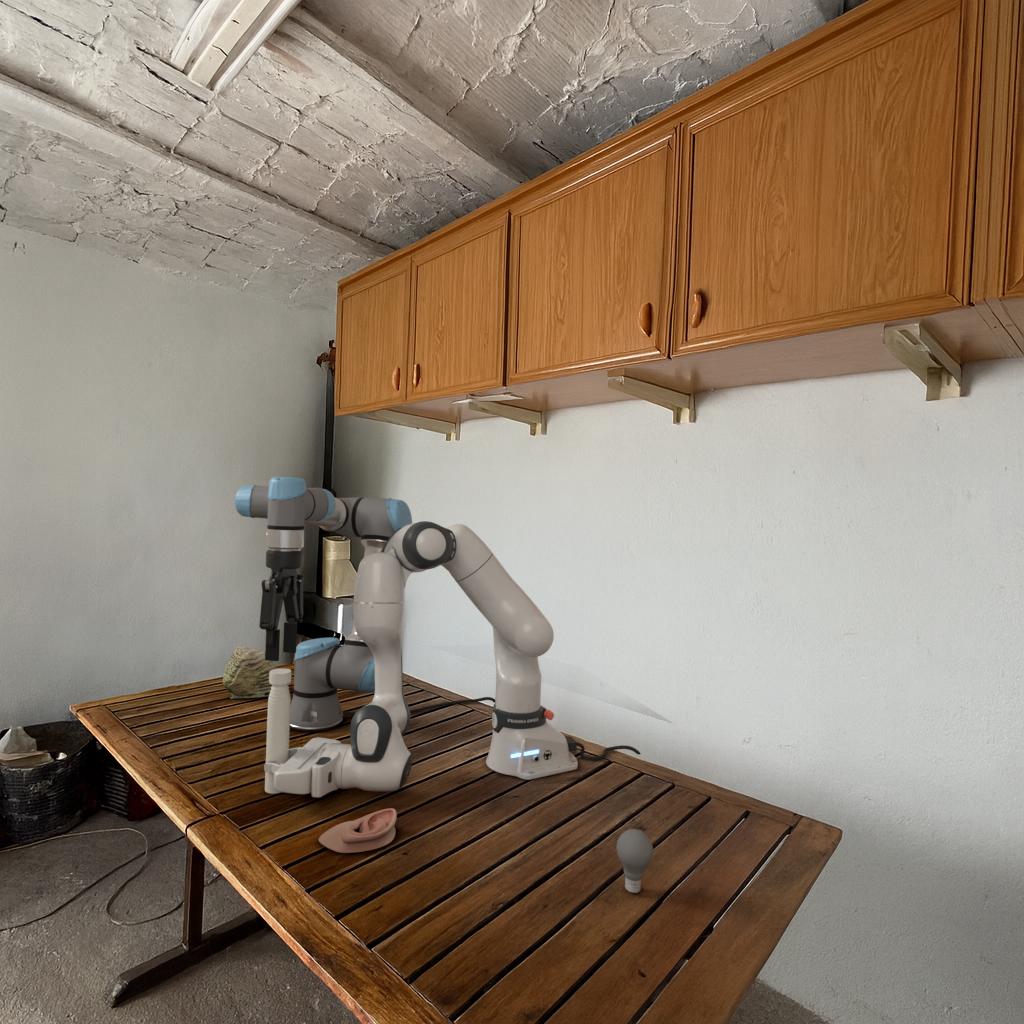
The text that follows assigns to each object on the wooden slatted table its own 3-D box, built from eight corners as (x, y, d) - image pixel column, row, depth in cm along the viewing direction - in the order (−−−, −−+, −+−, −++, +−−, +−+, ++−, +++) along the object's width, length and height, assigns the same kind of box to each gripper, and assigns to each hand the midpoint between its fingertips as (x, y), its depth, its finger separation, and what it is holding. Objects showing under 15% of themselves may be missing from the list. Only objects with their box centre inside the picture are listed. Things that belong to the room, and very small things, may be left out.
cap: (295, 680, 138) (295, 669, 138) (283, 686, 133) (283, 674, 133) (277, 678, 139) (277, 667, 139) (264, 683, 134) (264, 672, 134)
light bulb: (610, 879, 108) (613, 822, 108) (644, 879, 109) (647, 822, 109) (619, 902, 102) (622, 840, 102) (655, 901, 103) (658, 840, 103)
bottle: (291, 785, 138) (295, 671, 138) (279, 795, 134) (283, 676, 133) (273, 782, 139) (277, 669, 139) (260, 791, 135) (264, 674, 134)
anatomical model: (310, 826, 114) (340, 797, 125) (309, 848, 114) (339, 817, 125) (379, 837, 111) (403, 806, 122) (378, 859, 111) (403, 827, 123)
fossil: (218, 695, 195) (220, 647, 195) (278, 685, 208) (279, 640, 207) (228, 703, 189) (230, 653, 188) (289, 692, 201) (290, 645, 201)
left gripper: (291, 545, 146) (287, 644, 146) (242, 551, 126) (238, 666, 127) (322, 547, 145) (318, 647, 145) (277, 553, 125) (273, 669, 126)
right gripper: (352, 733, 145) (294, 728, 147) (316, 770, 125) (250, 764, 126) (351, 760, 146) (293, 755, 147) (315, 801, 125) (248, 795, 127)
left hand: (281, 656), depth 136 cm, fingers open, 7 cm apart
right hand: (273, 759), depth 136 cm, fingers open, 5 cm apart
